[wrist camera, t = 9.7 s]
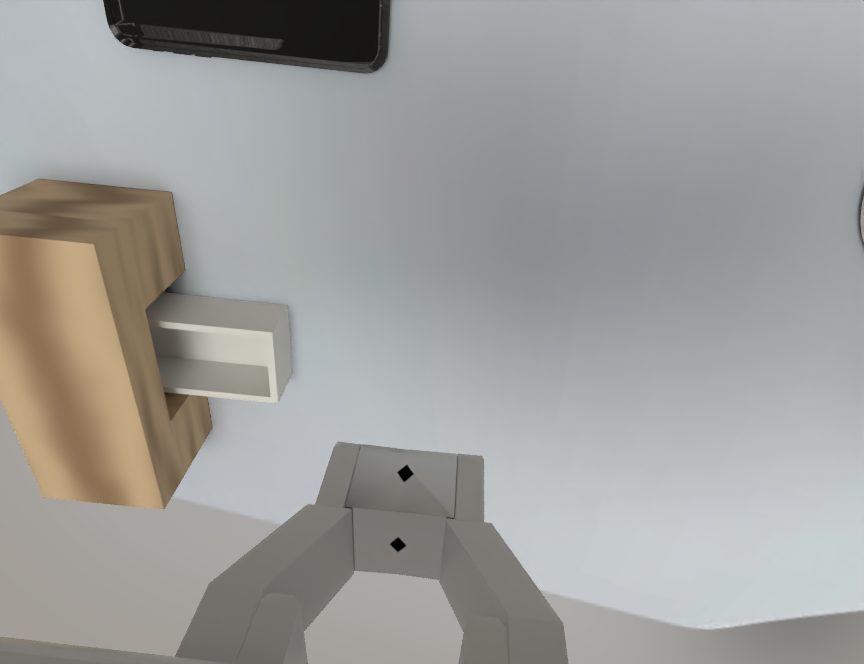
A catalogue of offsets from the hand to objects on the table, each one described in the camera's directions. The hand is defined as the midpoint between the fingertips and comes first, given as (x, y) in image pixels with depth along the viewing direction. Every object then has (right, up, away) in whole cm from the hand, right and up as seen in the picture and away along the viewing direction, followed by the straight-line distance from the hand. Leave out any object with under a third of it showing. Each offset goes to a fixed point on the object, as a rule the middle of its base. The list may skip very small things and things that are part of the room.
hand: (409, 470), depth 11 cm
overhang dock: (-21, +4, +29) cm, 36 cm away
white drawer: (-17, +3, +29) cm, 34 cm away
